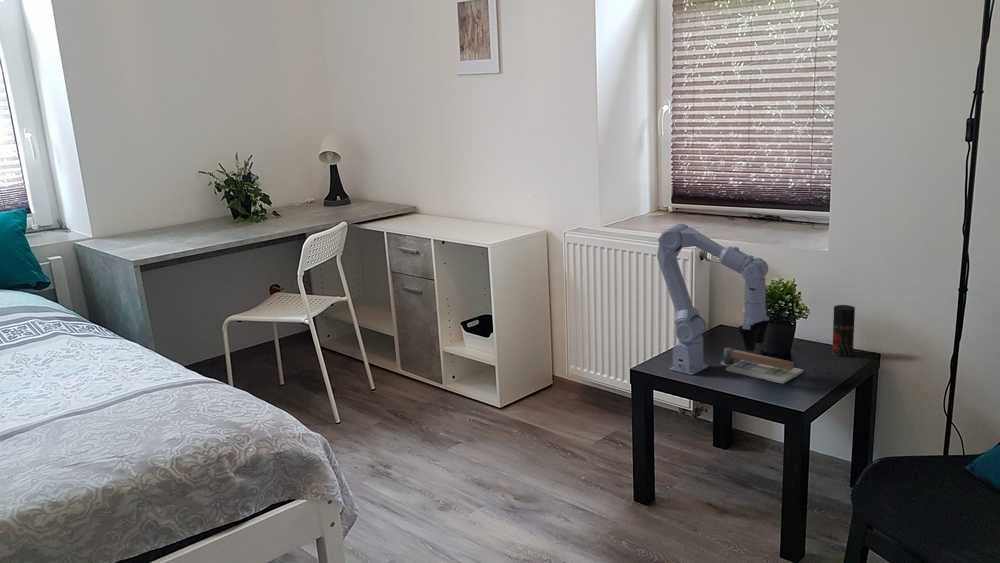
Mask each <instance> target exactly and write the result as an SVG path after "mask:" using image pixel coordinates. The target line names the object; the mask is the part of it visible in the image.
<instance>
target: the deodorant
mask: <svg viewBox="0 0 1000 563" xmlns="http://www.w3.org/2000/svg"><path fill="white" fill-rule="evenodd" d="M855 311H856V308H855V306H853V305H848V304H837V305H834V307H833V322H832V323H833V324H832V325H833V328H832V329H833V330H832V352H831V354H832V355H833V356H836V357H839V358H847V357H848V358H849V357H852V356H854V336H855V317H856V316H855V313H856V312H855Z"/></svg>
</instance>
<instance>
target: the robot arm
mask: <svg viewBox="0 0 1000 563" xmlns="http://www.w3.org/2000/svg"><path fill="white" fill-rule="evenodd" d="M657 241H658V250H657V255H656V258H657V261H658V265H659V267H660V270H661V273H662V276H663V279H664V283H665V284H666V288H667V291H668V294H669V296H670V299H671V301H672V305H673V307H674V310H675V317H674V324H675V336H676V338H677V339H678V342H677V344H676V345H675V346H674V347H673V349H672V366H671V367H670V368H669V369H670V370H671V371H674V372H679V373H682V374H687V375H690V376H691V375H695V374H697V373H699V372H701V371H703V370H705V369H707V368H709V367H710V365H709V364H706V363H704V337H703V333H704V332H705V331H706V329H707V323H706V321H705V319H704V318H703V317H702V316H701V315H700V312H699V309H697V308H696V307H695V306H694V305H693V303H692V299H691V297H690V294H689V291H688V288H687V285H686V282H685V279H684V276H683V273H682V271H681V268H680V264H679V261H678V259H677V257H678V256H679V254H680V252H681V251H682V249H683V248H691V247H692V248H693V247H695V248H697V249H699V250H701V251H703V252H706V253H707V254H710V255H712V256H715V257H717V258H718V259H719V262H720V264H721V265H723V266H725V267H726V268H728V269H731V271H734V272H736V273H737V274H739V275H741V276H742V278H743V279H744V311H743V313H744V315H743V321H742V324H741V325H739V326H738V331H739V332H740V334H741V337H742V340H743V344H744V347H745V350H746V351H747V352H749V351H750V352H754V351H755V347H756V344H763V342H764V340H765V334H766V331H767V328H768V326H769V324H770V323H771V318H770V316H767V310H766V294H767V293H766V290H767V288H766V275H767V274H768V273H769V266H768V263H767V262H766V261H765V260H763V258H761V257H756V258H754V256H753V255H752V254H751V255H748V254H746V253H745V252H742V251H741V250H740V247H738V246H734V247H733V246H728V247H725V246H723V245H721V244H719V243H718V242H716V241H714V240H712V239H711V238H709V237H707V236H706V235H704V234H702V233H701V232H699V231H698V230H696V228H694V227H691V226H688V225H687V224H685V223H679V224H676V225H674V226H672V227H670V228H666V229H664V230H663V231H662V233H661V234H660V236H659V237H658V238H657Z"/></svg>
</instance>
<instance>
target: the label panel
mask: <svg viewBox="0 0 1000 563" xmlns="http://www.w3.org/2000/svg"><path fill="white" fill-rule="evenodd" d="M720 365H722V366H723V367H726V368H725V371H727V372H731V373H735V374H739V375H744V376H747V377H752V378H756V379H761V380H764V379H765V381H769V382H773V383H779V384H786V383H787V382H789V381H790V380H792V379H793V378H796V377H798V376H799V375H801V374H802V373H804V369H801V368H797V367H794V368H793V369H792V370H786V369H782V368H777V367H772V366H768V365H763V364H758V363H754V362H749V361H745V360H740V359H739V360H738V361H735V360H734V363H731V364H727V363H724V360H721V361H720Z"/></svg>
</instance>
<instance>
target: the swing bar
mask: <svg viewBox="0 0 1000 563" xmlns="http://www.w3.org/2000/svg"><path fill="white" fill-rule="evenodd" d="M735 359H737V360H739V361H740V360H745V361H749V362H754V363H758V364H763V365H768V366H772V367H777V368H782V369H786V370H792V369H793V368H795V367H794V365H795V362H794V361H790V360H786V359H782V358H777V357H771V356H767V355H761V354H757V353H752V352H749V351H742V350H737V349H734V348H733V347H725V348H723V361H724V363H727V364H731V363H734V361H735Z"/></svg>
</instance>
